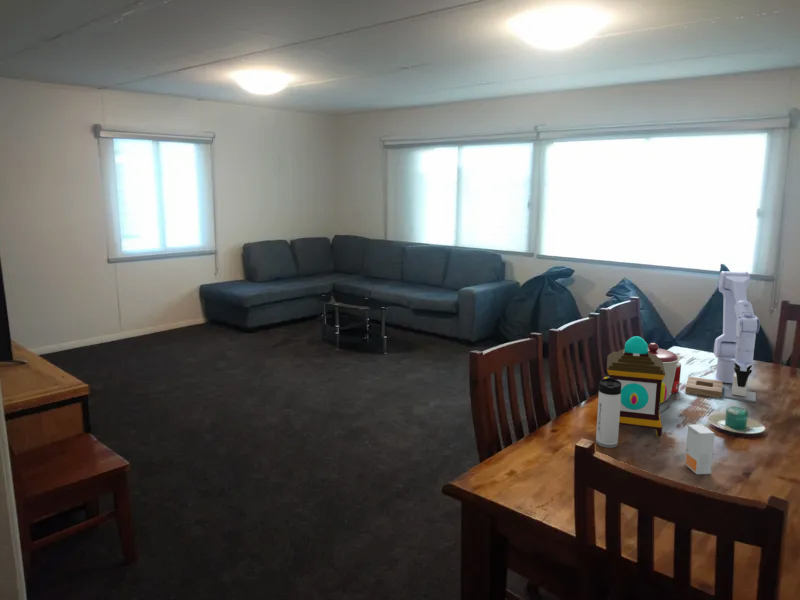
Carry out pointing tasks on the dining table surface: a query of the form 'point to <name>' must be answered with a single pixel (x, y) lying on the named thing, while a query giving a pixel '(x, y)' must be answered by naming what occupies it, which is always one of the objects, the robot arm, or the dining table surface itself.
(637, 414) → the decorative lantern
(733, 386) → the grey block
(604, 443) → the travel mug
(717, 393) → the pocket board
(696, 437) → the skincare box
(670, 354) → the canister
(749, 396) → the coaster
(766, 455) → the dining table surface
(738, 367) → the robot arm
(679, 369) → the canned food
